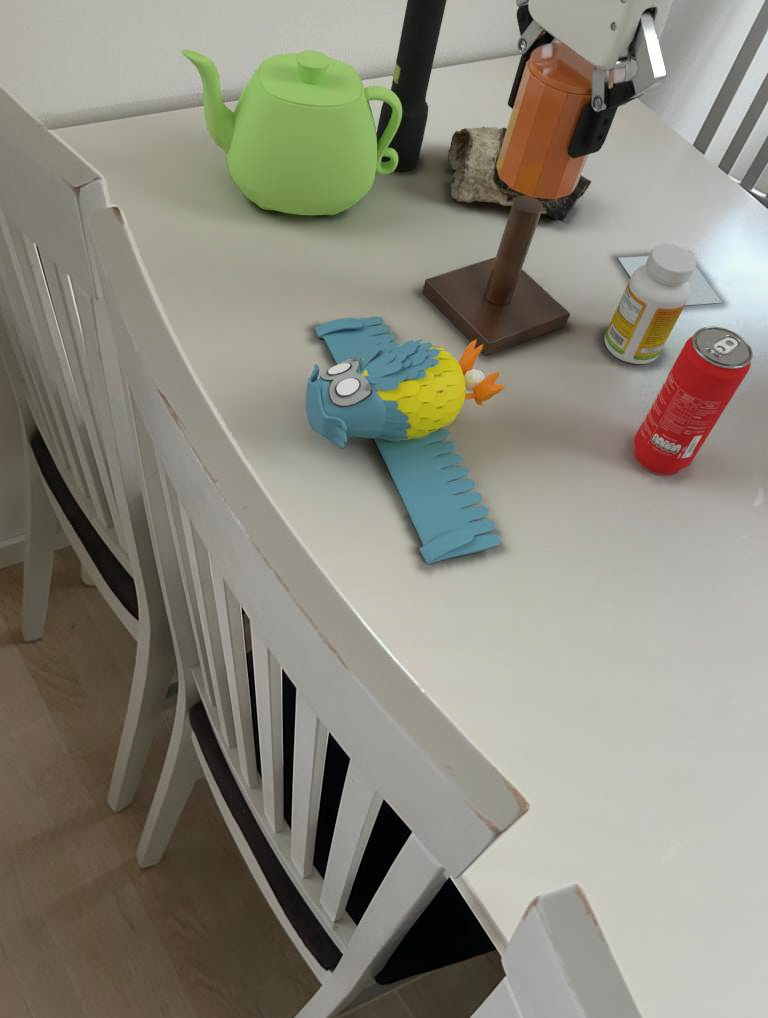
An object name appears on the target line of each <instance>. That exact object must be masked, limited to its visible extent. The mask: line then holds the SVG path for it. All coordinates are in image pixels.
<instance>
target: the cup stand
mask: <svg viewBox="0 0 768 1018" xmlns="http://www.w3.org/2000/svg"><path fill="white" fill-rule="evenodd" d="M542 209H543V206H542V204H541V203H540V202H539V201H538V200H537V199H535V198H533V197H529V196H519V197H517V198H515V199H514V201H513V204H512V205H511V208H510V210H509V214H508V217H507V220H506V223H505V226H504V231H503V233H502V236H501V239H500V243H499V245H498V249H497V253H496V254H495V256H494V257H491V258H488V259H485V260H482V261H478V262H475V263H473V264H470V265H469V264H468V265H467V266H463V267H460V268H457V269H454V270H451V271H447V272H445V273H442V274H437V275H435V276H432V277H430V278H429V277H428V278H426V279H425V280H424V283H423V287H422V291H421V293H422V294H423V295H424V296H425V297H426V298H427V299H428V300H429V301H430V302H431V303H432V304H433V305H434V306H435V307H436V308H437V309H438V310H439V311H440V312H441V313H442V314H443V315H444V316H445V317H446V319H448V321H450V322H451V323H452V325H454V326H455V327H456V329H458V331H460V332H461V334H462V335H464V337H465V338H467V339H468V340H469V342H470V343H471V342H472V341H474V340H476V339H477V342H476V345H475V347H476V348H477V347H479V346H480V345H483V348H482V350H481V352H480V353H482V354H483V355H484V356H485V357H486V356H489V355H491V354H494V353H496V352H499V351H502V350H505V349H507V348H510V347H513V346H517V345H518V344H520V343H524V342H526V341H529V340H532V339H535V338H538V337H540V336H543V335H545V334H548V333H551V332H553V331H557V330H560V329H562V328H565V327H566V326H567V324H568V321H569V320H570V319H569V318H570V316H571V313H570V312H569V311H568V310H567V309H566V308H565V307H564V306H563V305H562V304H560V303H559V302H558V301H557V300H556V299H555V298H554V297H553V296H552V295H551V294H550V293H549V292H548V291H547V290H545V289H544V287H542V286H541V285H540V284H539V283H538V282H537V281H536V280H534V279H533V277H531V276H530V275H529V274H528V273H527V272H526V271H525V270H523V267H524V264H525V261H526V258H527V255H528V252H529V249H530V247H531V243H532V241H533V238H534V235H535V232H536V229H537V227H538V223H539V221H540V218H541V216H542V213H541V212H542Z"/></svg>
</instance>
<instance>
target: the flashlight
mask: <svg viewBox="0 0 768 1018" xmlns="http://www.w3.org/2000/svg"><path fill="white" fill-rule="evenodd" d="M447 1H448V0H406V6H405V12H404V17H403V23H402V27H401V28H402V29H401V33H400V38H399V45H398V50H397V54H396V55H397V56H396V60H395V65H394V71H393V73H392V81H391V82H392V83H391V87H390V90H391V91H393V92H394V93H395V94H396V95H397V97H398V98H399V100H400V102H401V106H402V118H401V122H400V125H399V127H398V129H397V132H396V133H395V135H394V137H393V139H392V141H391V142H390V144H389V146H388V148H392V149H394V150H395V151H396V152H397V154H398V164H397V167H396V169H395V170H394V171H393V172H408V171H411V170H414V169H415V168H416V167H417V165H418V163H419V159H420V156H421V155H420V154H421V150H422V147H423V146H422V145H423V142H424V138H425V137H424V136H425V131H426V126H427V122H428V116H429V105H428V102H427V101H426V100H427V93H428V88H429V83H430V78H431V73H432V71H433V70H432V69H433V65H434V61H435V56H436V51H437V47H438V43H439V37H440V33H441V28H442V24H443V18H444V15H445V10H446V4H447ZM391 115H392V107H391V106H390V105H389V104H388V103H386V102H384V101H382V105H381V108H380V113H379V118H378V123H377V128H376V135H377V144H378V142H379V140H380V138H381V137H382V135H383V133H384V131H385V129H386V128H387V126H388V123H389V121H390V119H391ZM390 160H391V158H390V157H382V159H381V162H388V161H390Z"/></svg>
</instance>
